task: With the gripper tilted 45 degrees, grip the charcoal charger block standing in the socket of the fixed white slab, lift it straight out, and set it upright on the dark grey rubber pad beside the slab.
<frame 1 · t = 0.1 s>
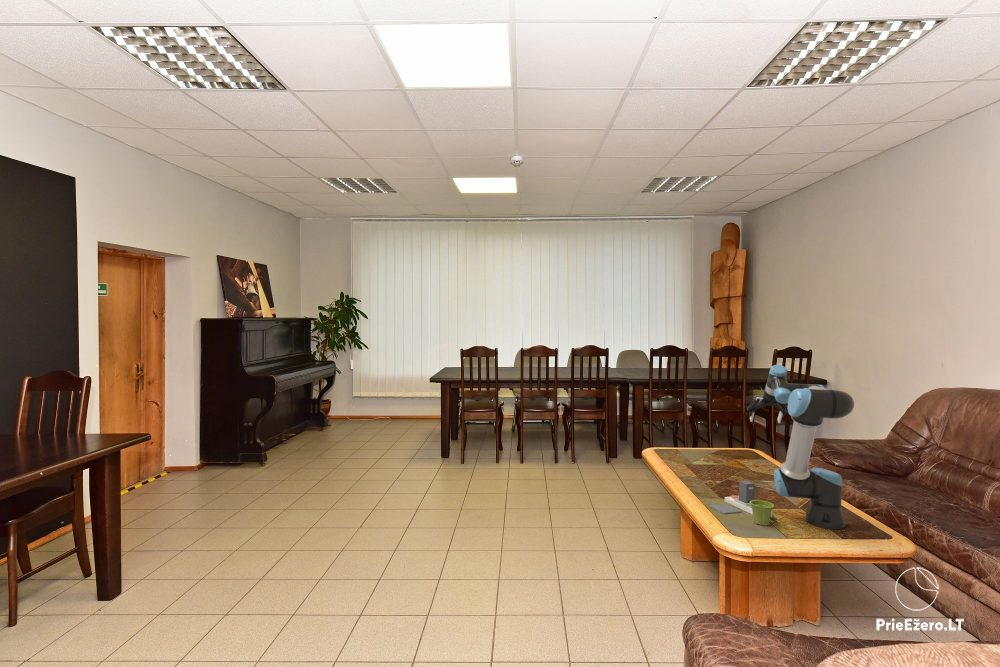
hand: (764, 420, 287), 36 cm above the table, tool tilted 35°, fingers open, 13 cm apart
white slab: (747, 508, 256), on the table
plant pot: (761, 523, 237), on the table
charger: (746, 503, 256), point 2 cm above the table, touching white slab
pad: (725, 509, 253), on the table
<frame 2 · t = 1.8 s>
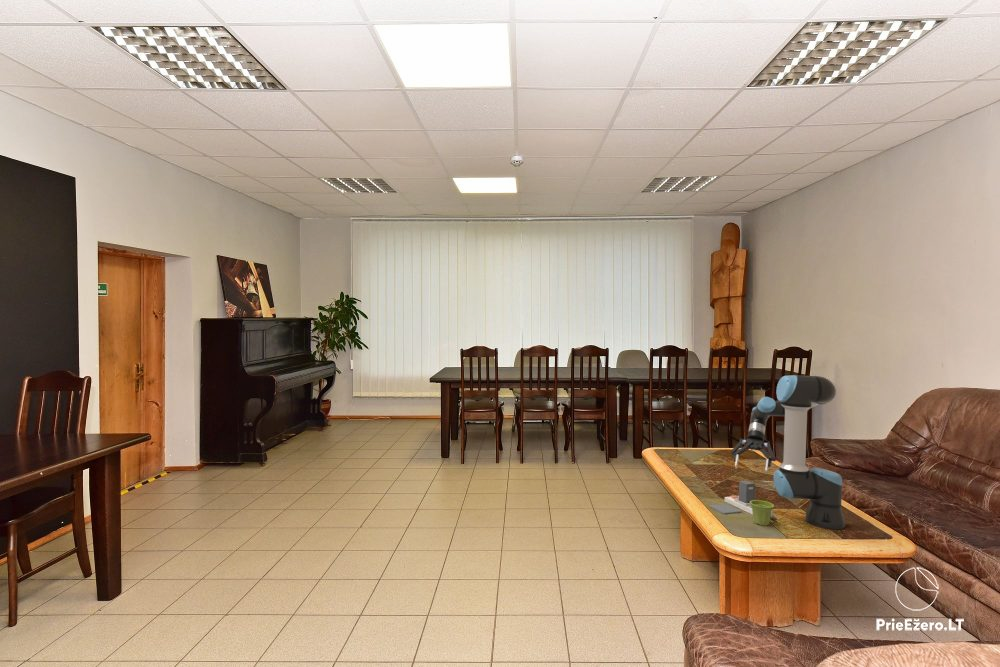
hand: (750, 469, 265), 16 cm above the table, tool tilted 45°, fingers open, 13 cm apart
nothing on the table moved.
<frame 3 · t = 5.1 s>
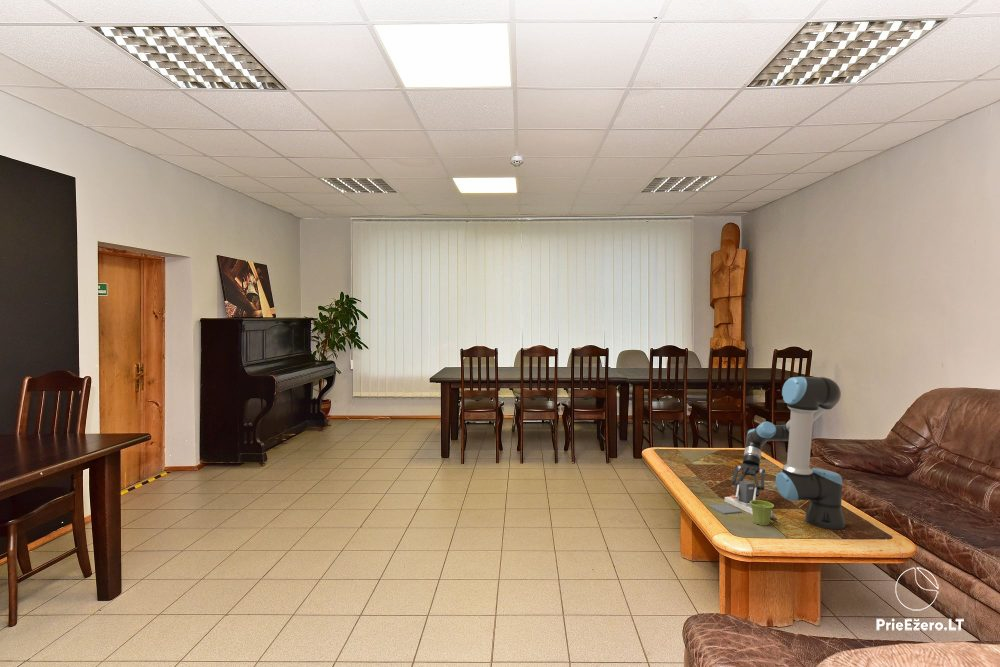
hand: (745, 499, 253), 5 cm above the table, tool tilted 45°, fingers closed on charger, 7 cm apart
charger: (746, 503, 256), point 2 cm above the table, touching gripper, white slab
everything else where it was.
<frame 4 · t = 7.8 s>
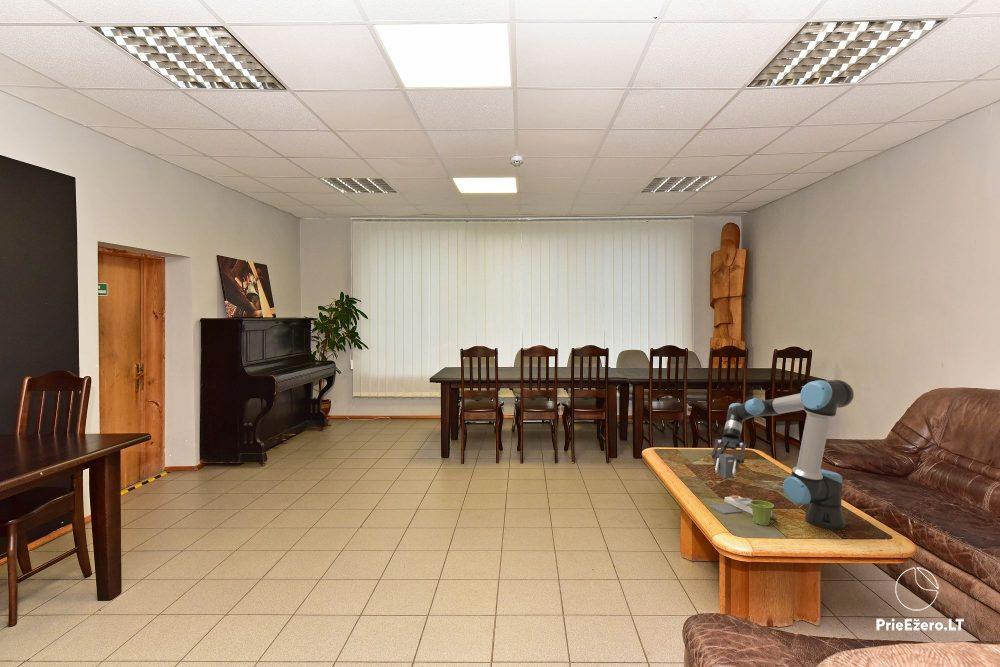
hand: (724, 472, 250), 18 cm above the table, tool tilted 45°, fingers closed on charger, 7 cm apart
charger: (726, 476, 253), point 15 cm above the table, touching gripper
everything else where it was.
when the fingers open (5 cm above the table, at t = 10.5 s): charger drops 1 cm, resting on pad.
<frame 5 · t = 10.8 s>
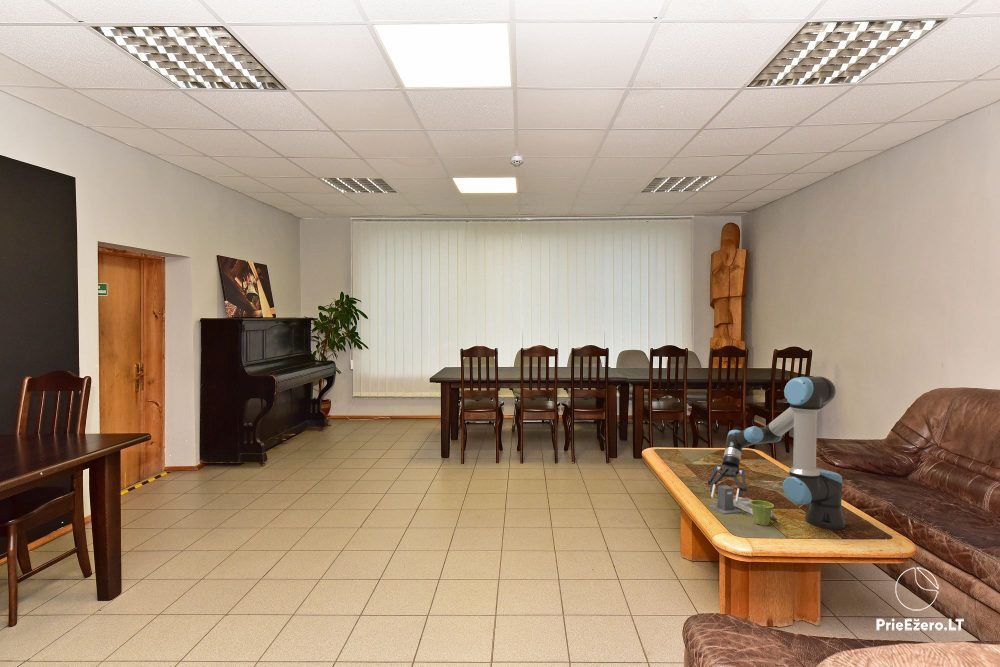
hand: (724, 500, 250), 5 cm above the table, tool tilted 45°, fingers open, 10 cm apart
charger: (725, 508, 253), point 1 cm above the table, touching pad
everything else where it was.
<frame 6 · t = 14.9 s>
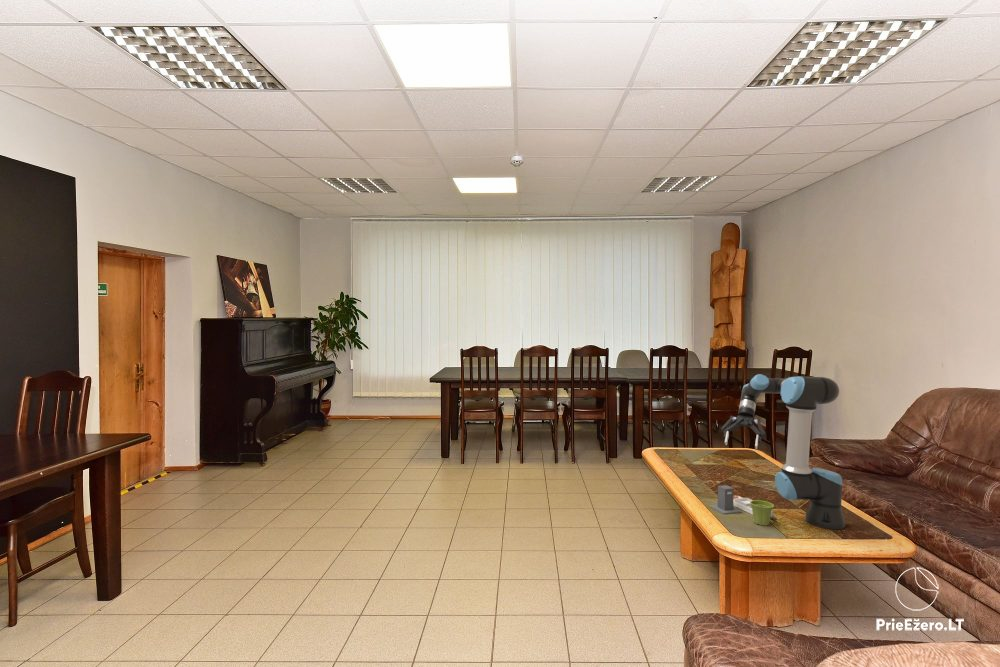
hand: (740, 445, 263), 28 cm above the table, tool tilted 45°, fingers open, 13 cm apart
nothing on the table moved.
at the end: charger inside the target area on the pad (0.1 cm from its centre), point 0.6 cm above the pad's base; charger tilted 0°; the gripper is holding nothing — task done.
